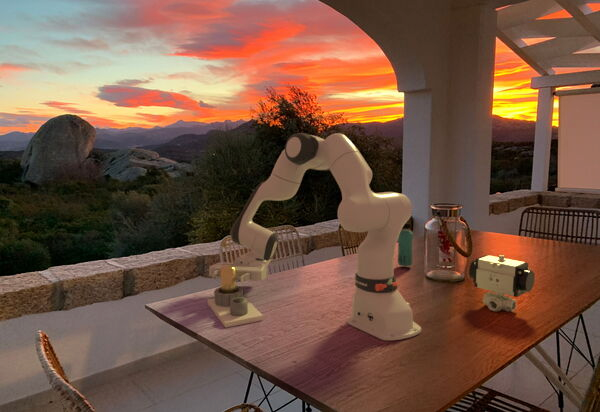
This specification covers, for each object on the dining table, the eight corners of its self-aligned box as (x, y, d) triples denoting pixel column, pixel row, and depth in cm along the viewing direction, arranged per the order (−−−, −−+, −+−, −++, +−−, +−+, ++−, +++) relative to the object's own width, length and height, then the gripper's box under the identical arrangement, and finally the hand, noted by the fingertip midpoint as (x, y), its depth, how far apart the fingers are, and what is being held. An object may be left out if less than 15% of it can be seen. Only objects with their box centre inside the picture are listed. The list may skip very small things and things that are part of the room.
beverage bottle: (412, 265, 188) (413, 221, 185) (412, 270, 181) (413, 224, 179) (397, 265, 189) (398, 221, 187) (397, 269, 183) (397, 223, 180)
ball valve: (465, 304, 141) (467, 252, 139) (477, 298, 146) (480, 248, 144) (521, 321, 127) (524, 263, 125) (532, 313, 133) (536, 258, 130)
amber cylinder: (238, 302, 141) (237, 268, 140) (223, 305, 139) (222, 270, 138) (234, 298, 146) (233, 264, 144) (220, 300, 144) (218, 266, 142)
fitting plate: (263, 320, 130) (262, 302, 130) (225, 327, 125) (224, 309, 125) (241, 297, 150) (240, 282, 149) (207, 303, 145) (206, 287, 144)
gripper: (220, 256, 156) (199, 266, 143) (270, 260, 150) (253, 271, 137) (220, 273, 157) (200, 284, 144) (271, 277, 151) (254, 290, 138)
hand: (226, 278), depth 140 cm, fingers open, 8 cm apart
